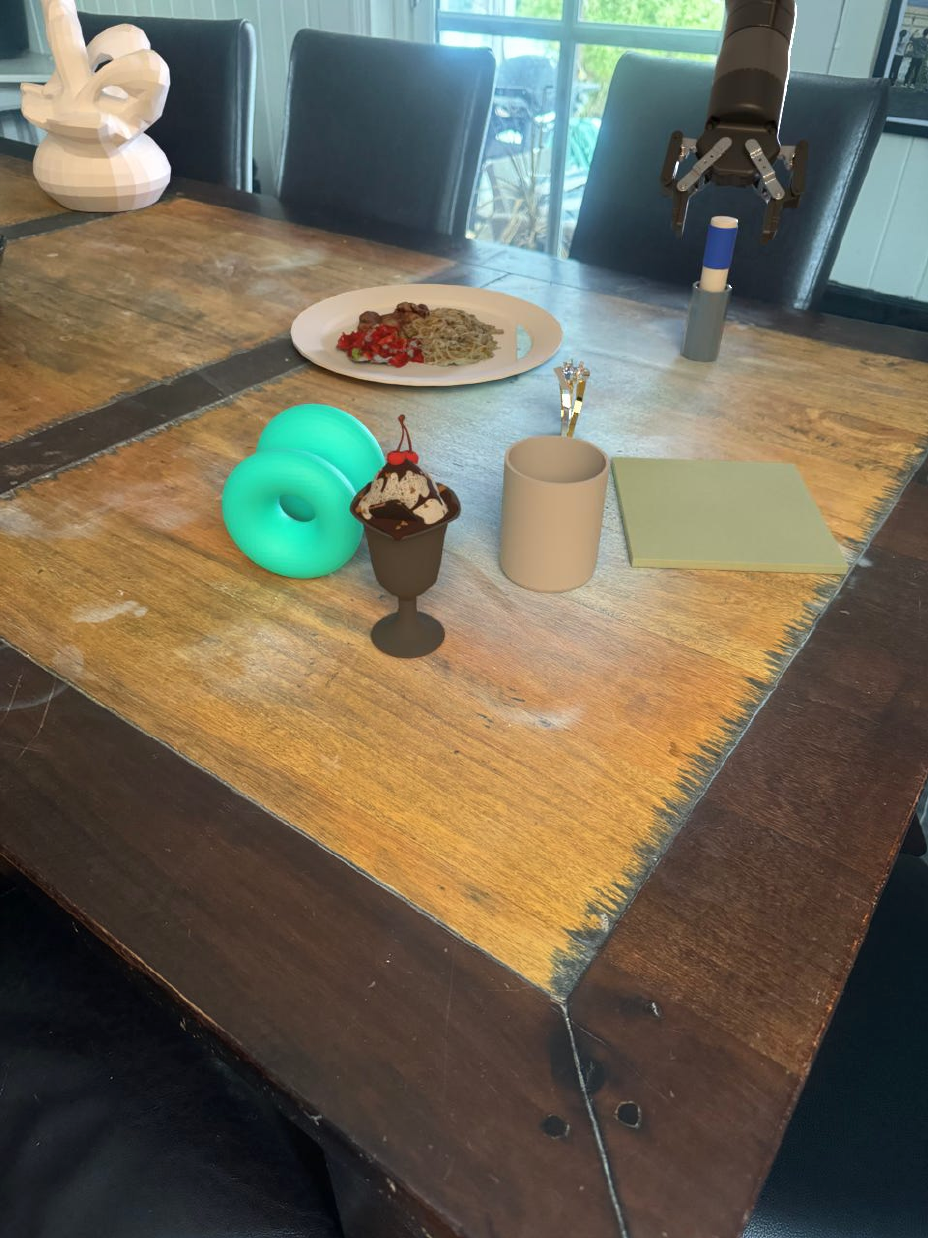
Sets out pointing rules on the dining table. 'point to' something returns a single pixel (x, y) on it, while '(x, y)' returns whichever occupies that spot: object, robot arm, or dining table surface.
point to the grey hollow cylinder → (705, 323)
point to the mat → (722, 517)
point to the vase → (98, 116)
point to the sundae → (406, 546)
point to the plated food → (425, 334)
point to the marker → (718, 253)
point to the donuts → (302, 491)
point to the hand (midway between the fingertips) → (721, 236)
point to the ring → (570, 393)
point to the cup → (552, 512)
